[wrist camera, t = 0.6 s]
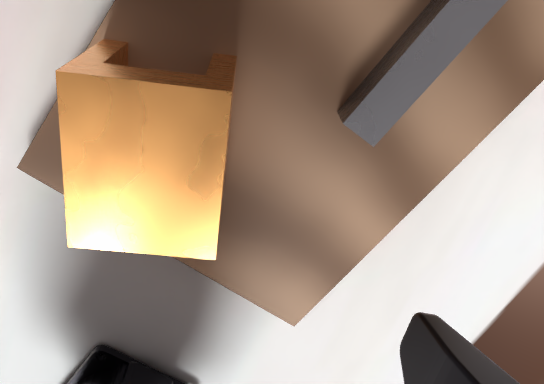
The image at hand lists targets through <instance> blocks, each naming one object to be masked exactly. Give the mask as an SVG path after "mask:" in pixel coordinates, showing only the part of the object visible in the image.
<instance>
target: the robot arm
mask: <svg viewBox="0 0 544 384" xmlns="http://www.w3.org/2000/svg"><path fill="white" fill-rule="evenodd" d="M101 354H104V355H101ZM400 358H401V365H402V371H403V377H404V384H519V383H518V382H517V381H516V380H515V379H513V378H512V377H511V376H510V375H508V374H507V373H506V372H505V371H504V370H503V369H501V368H500V367H499V366H498V365H496V364H495V363H494V362H493V361H492V360H490V359H489V358H488V357H487V356H485V355H484V354H483V353H482V352H481V351H480V350H478V349H477V348H476V347H475V346H473V345H472V344H471V343H470V342H469V341H467V340H466V339H465V338H464V337H463V336H461V335H460V334H459V333H458V332H456V331H455V330H454V329H453V328H452V327H450V326H449V325H448V324H447V323H446V322H444V321H443V320H442V319H441V318H440V317H438V316H436V315H433V314H427V313H421V312H418V313H416V314H415V315H414V316H413V317H412V319H411V322H410V324H409V326H408V328H407V330H406V333H405V335H404V337H403V339H402V342H401V345H400ZM66 384H185V383H183V382H180V381H178V380H176V379H174V378H172V377H170V376H168V375H166V374H164V373H162V372H160V371H158V370H156V369H154V368H152V367H149V366H147V365H145V364H143V363H141V362H139V361H137V360H135V359H133V358H131V357H129V356H127V355H125V354H123V353H120V352H118V351H116V350H114V349H112V348H110V347H108V346H105V345H99V346H97V347H96V348H95V349H94V350H93V351H92V352H91V353H90V355H89V356H88V357H87V358H86V360H85V361H84V362H83V363H82V365H81V366H80V367H79V368H78V370H77V371H76V372H75V373H74V375H73V376H72V377H71V378H70V380H69V381H68V382H67V383H66Z"/></svg>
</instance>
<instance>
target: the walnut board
mask: <svg viewBox="0 0 544 384" xmlns="http://www.w3.org/2000/svg"><path fill="white" fill-rule="evenodd" d="M430 1H431V0H115V1H114V3H113V5H112V6H111V8H110V10H109V11H108V13H107V15H106V17H105V18H104V20H103V22H102V23H101V25H100V27H99V29H98V30H97V32H96V34H95V35H94V37H93V39H92V40H91V42H90V44H89V46H88V47H87V49H86V50H88V49H89V48H91V47H92V46H94V45H95V44H97V43H98V42H100V41H101V40H103V39H108V40H116V41H123V42H128V66H132V67H140V68H148V69H156V70H164V71H173V72H181V73H189V74H197V75H205V76H206V73H207V70H208V67H209V64H210V61H211V59H212V56H213V53H218V54H225V55H233V56H237V60H236V71H235V81H234V91H233V101H232V111H231V121H230V131H229V142H228V152H227V162H226V172H225V182H224V192H223V201H222V210H221V218H220V227H219V235H218V244H217V252H216V260H208V259H197V258H186V257H174V256H172V257H174V258H175V259H177V260H179V261H181V262H182V263H184V264H186V265H188V266H189V267H191V268H193V269H195V270H196V271H198V272H200V273H202V274H203V275H205V276H207V277H209V278H210V279H212V280H214V281H216V282H217V283H219V284H221V285H223V286H224V287H226V288H228V289H229V290H231V291H233V292H235V293H236V294H238V295H240V296H242V297H243V298H245V299H247V300H249V301H250V302H252V303H254V304H256V305H257V306H259V307H261V308H263V309H264V310H266V311H268V312H270V313H271V314H273V315H275V316H277V317H278V318H280V319H282V320H284V321H285V322H287V323H289V324H291V325H292V326H295V325H296V324H297V323H298V322H299V321H300V320H301V319H302V318H303V317H304V316H305V315H306V314H307V313H308V312H309V311H310V310H311V309H312V308H313V307H314V306H315V305H316V304H317V303H318V302H319V301H320V300H321V299H322V298H323V297H324V296H325V295H327V294H328V293H329V292H330V291H331V290H332V289H333V288H334V287H335V286H336V285H337V284H338V283H339V282H340V281H341V280H342V279H343V278H344V277H345V276H346V275H347V274H348V273H349V272H350V271H351V270H352V269H353V268H354V267H355V266H356V265H357V264H358V263H359V262H360V261H361V260H362V259H363V258H364V257H365V256H366V255H367V254H368V253H369V252H370V251H371V250H372V249H373V248H374V247H375V246H376V245H377V244H378V243H379V242H380V241H381V240H382V239H383V238H384V237H385V236H386V235H387V234H388V233H389V232H390V231H391V230H392V229H393V228H394V227H395V226H396V225H397V224H398V223H399V222H400V221H401V220H402V219H403V218H404V217H405V216H406V215H407V214H408V213H409V212H410V211H411V210H412V209H414V208H415V207H416V206H417V205H418V204H419V203H420V202H421V201H422V200H423V199H424V198H425V197H426V196H427V195H428V194H429V193H430V192H431V191H432V190H433V189H434V188H435V187H436V186H437V185H438V184H439V183H440V182H441V181H442V180H443V179H444V178H445V177H446V176H447V175H448V174H449V173H450V172H451V171H452V170H453V169H454V168H455V167H456V166H457V165H458V164H459V163H460V162H461V161H462V160H463V159H464V158H465V157H466V156H467V155H468V154H469V153H470V152H471V151H472V150H473V149H474V148H475V147H476V146H477V145H478V144H479V143H480V142H481V141H482V140H483V139H484V138H485V137H486V136H487V135H488V134H489V133H490V132H491V131H492V130H493V129H494V128H495V127H496V126H497V125H498V124H500V123H501V122H502V121H503V120H504V119H505V118H506V117H507V116H508V115H509V114H510V113H511V112H512V111H513V110H514V109H515V108H516V107H517V106H518V105H519V104H520V103H521V102H522V101H523V100H524V99H525V98H526V97H527V96H528V95H529V94H530V93H531V92H532V91H533V90H534V89H535V88H536V87H537V86H538V85H539V84H540V83H541V82H542V81H543V80H544V0H508V1H507V2H506V3H505V4H504V5H503V6H502V7H501V8H500V10H499V11H498V12H497V13H496V14H495V15H494V16H493V17H492V18H491V19H490V20H489V22H488V23H487V24H486V25H485V26H484V27H483V28H482V29H481V30H480V31H479V32H478V34H477V35H476V36H475V37H474V38H473V39H472V40H471V41H470V42H469V43H468V44H467V46H466V47H465V48H464V49H463V50H462V51H461V52H460V53H459V54H458V55H457V57H456V58H455V59H454V60H453V61H452V62H451V63H450V64H449V65H448V66H447V67H446V69H445V70H444V71H443V72H442V73H441V74H440V75H439V76H438V77H437V78H436V79H435V81H434V82H433V83H432V84H431V85H430V86H429V87H428V88H427V89H426V90H425V92H424V93H423V94H422V95H421V96H420V97H419V98H418V99H417V100H416V101H415V102H414V104H413V105H412V106H411V107H410V108H409V109H408V110H407V111H406V112H405V113H404V114H403V116H402V117H401V118H400V119H399V120H398V121H397V122H396V123H395V124H394V125H393V127H392V128H391V129H390V130H389V131H388V132H387V133H386V134H385V135H384V136H383V137H382V139H381V140H380V141H379V142H378V143H377V144H376V145H375V146H374V147H373V146H371V145H370V144H369V143H367V142H366V141H365V140H364V139H362V138H361V137H360V136H358V135H357V134H356V133H354V132H353V131H352V130H350V129H349V128H348V127H347V126H345V125H344V124H343V123H342V121H341V119H340V117H339V115H338V113H337V111H338V110H339V108H340V107H341V106H342V105H343V104H344V102H345V101H346V100H347V99H348V98H349V97H350V95H351V94H352V93H353V92H354V91H355V90H356V88H357V87H358V86H359V85H360V84H361V82H362V81H363V80H364V79H365V78H366V77H367V75H368V74H369V73H370V72H371V71H372V70H373V68H374V67H375V66H376V65H377V64H378V62H379V61H380V60H381V59H382V58H383V57H384V55H385V54H386V53H387V52H388V51H389V50H390V48H391V47H392V46H393V45H394V44H395V43H396V41H397V40H398V39H399V38H400V37H401V35H402V34H403V33H404V32H405V31H406V30H407V28H408V27H409V26H410V25H411V24H412V23H413V21H414V20H415V19H416V18H417V17H418V15H419V14H420V13H421V12H422V11H423V10H424V8H425V7H426V6H427V5H428V4H429V3H430ZM17 168H18V169H20V170H21V171H23V172H25V173H27V174H28V175H30V176H32V177H34V178H35V179H37V180H39V181H41V182H42V183H44V184H46V185H48V186H49V187H51V188H53V189H55V190H56V191H58V192H60V193H62V194H63V195H64V185H63V171H62V156H61V142H60V127H59V113H58V98H57V100H56V102H55V104H54V105H53V107H52V109H51V110H50V112H49V114H48V115H47V117H46V119H45V121H44V122H43V124H42V126H41V127H40V129H39V131H38V133H37V134H36V136H35V138H34V139H33V141H32V143H31V144H30V146H29V148H28V150H27V151H26V153H25V155H24V156H23V158H22V160H21V162H20V163H19V165H18V167H17Z"/></svg>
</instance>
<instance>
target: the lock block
mask: <svg viewBox="0 0 544 384" xmlns="http://www.w3.org/2000/svg"><path fill="white" fill-rule="evenodd" d="M236 60H237V56H233V55H225V54H218V53H213V56H212V59H211V61H210V64H209V67H208V70H207V73H206V76H205V75H197V74H189V73H181V72H173V71H164V70H156V69H148V68H140V67H132V66H128V42H123V41H116V40H108V39H103V40H101V41H100V42H98V43H97V44H95V45H94V46H92V47H91V48H89V49H88V50H86V51H85V52H83V53H82V54H80V55H79V56H77V57H76V58H74V59H73V60H71V61H70V62H68V63H67V64H65V65H64V66H62V67H61V68H59V69H57V70H56V84H57V98H58V113H59V127H60V142H61V156H62V171H63V185H64V200H65V214H66V229H67V243H68V247H73V248H84V249H96V250H107V251H118V252H129V253H141V254H152V255H163V256H174V257H186V258H197V259H208V260H216V252H217V244H218V235H219V227H220V218H221V210H222V201H223V192H224V182H225V172H226V162H227V152H228V142H229V131H230V121H231V111H232V101H233V91H234V81H235V71H236Z"/></svg>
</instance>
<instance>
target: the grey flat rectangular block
mask: <svg viewBox="0 0 544 384" xmlns="http://www.w3.org/2000/svg"><path fill="white" fill-rule="evenodd" d="M507 1H508V0H431V1H430V3H429V4H428V5H427V6H426V7H425V8H424V10H423V11H422V12H421V13H420V14H419V15H418V17H417V18H416V19H415V20H414V21H413V23H412V24H411V25H410V26H409V27H408V28H407V30H406V31H405V32H404V33H403V34H402V35H401V37H400V38H399V39H398V40H397V41H396V43H395V44H394V45H393V46H392V47H391V48H390V50H389V51H388V52H387V53H386V54H385V55H384V57H383V58H382V59H381V60H380V61H379V62H378V64H377V65H376V66H375V67H374V68H373V70H372V71H371V72H370V73H369V74H368V75H367V77H366V78H365V79H364V80H363V81H362V82H361V84H360V85H359V86H358V87H357V88H356V90H355V91H354V92H353V93H352V94H351V95H350V97H349V98H348V99H347V100H346V101H345V102H344V104H343V105H342V106H341V107H340V108H339V110H338V111H337V113H338V115H339V117H340V119H341V121H342V123H343V124H344V125H345V126H347V127H348V128H349V129H350V130H352V131H353V132H354V133H356V134H357V135H358V136H360V137H361V138H362V139H364V140H365V141H366V142H367V143H369V144H370V145H371V146H373V147H374V146H375V145H376V144H377V143H378V142H379V141H380V140H381V139H382V137H383V136H384V135H385V134H386V133H387V132H388V131H389V130H390V129H391V128H392V127H393V125H394V124H395V123H396V122H397V121H398V120H399V119H400V118H401V117H402V116H403V114H404V113H405V112H406V111H407V110H408V109H409V108H410V107H411V106H412V105H413V104H414V102H415V101H416V100H417V99H418V98H419V97H420V96H421V95H422V94H423V93H424V92H425V90H426V89H427V88H428V87H429V86H430V85H431V84H432V83H433V82H434V81H435V79H436V78H437V77H438V76H439V75H440V74H441V73H442V72H443V71H444V70H445V69H446V67H447V66H448V65H449V64H450V63H451V62H452V61H453V60H454V59H455V58H456V57H457V55H458V54H459V53H460V52H461V51H462V50H463V49H464V48H465V47H466V46H467V44H468V43H469V42H470V41H471V40H472V39H473V38H474V37H475V36H476V35H477V34H478V32H479V31H480V30H481V29H482V28H483V27H484V26H485V25H486V24H487V23H488V22H489V20H490V19H491V18H492V17H493V16H494V15H495V14H496V13H497V12H498V11H499V10H500V8H501V7H502V6H503V5H504V4H505V3H506V2H507Z"/></svg>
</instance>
